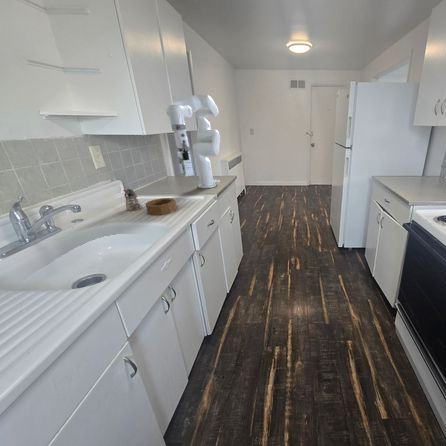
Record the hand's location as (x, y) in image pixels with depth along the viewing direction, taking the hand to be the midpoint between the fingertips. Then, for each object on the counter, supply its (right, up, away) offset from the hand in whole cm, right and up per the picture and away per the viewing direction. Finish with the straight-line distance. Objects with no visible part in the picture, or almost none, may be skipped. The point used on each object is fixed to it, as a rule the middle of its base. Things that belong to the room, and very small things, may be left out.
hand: (184, 159), depth 154 cm
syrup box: (0, -9, +4) cm, 10 cm away
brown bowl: (-7, -32, -11) cm, 35 cm away
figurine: (-26, -31, -8) cm, 41 cm away
